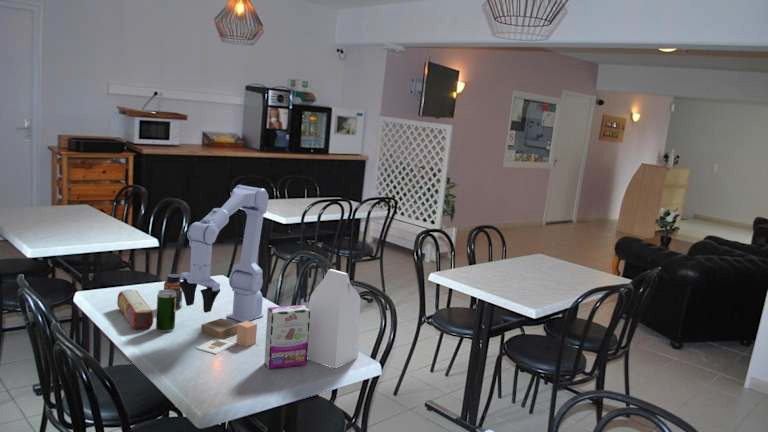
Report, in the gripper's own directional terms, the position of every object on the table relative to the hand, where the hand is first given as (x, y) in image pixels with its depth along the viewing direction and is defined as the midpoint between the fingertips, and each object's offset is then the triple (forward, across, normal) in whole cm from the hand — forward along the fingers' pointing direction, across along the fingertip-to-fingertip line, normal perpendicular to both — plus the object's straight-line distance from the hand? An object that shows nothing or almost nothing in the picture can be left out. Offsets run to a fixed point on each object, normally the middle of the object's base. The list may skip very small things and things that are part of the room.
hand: (198, 308), depth 178 cm
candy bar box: (+10, +29, +6) cm, 31 cm away
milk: (+10, +35, +19) cm, 41 cm away
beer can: (+10, -13, -1) cm, 16 cm away
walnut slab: (+10, 0, +9) cm, 14 cm away
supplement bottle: (+10, -27, +13) cm, 31 cm away
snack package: (+10, -26, -2) cm, 28 cm away
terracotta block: (+10, +11, +9) cm, 17 cm away
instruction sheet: (+10, +7, +1) cm, 12 cm away
